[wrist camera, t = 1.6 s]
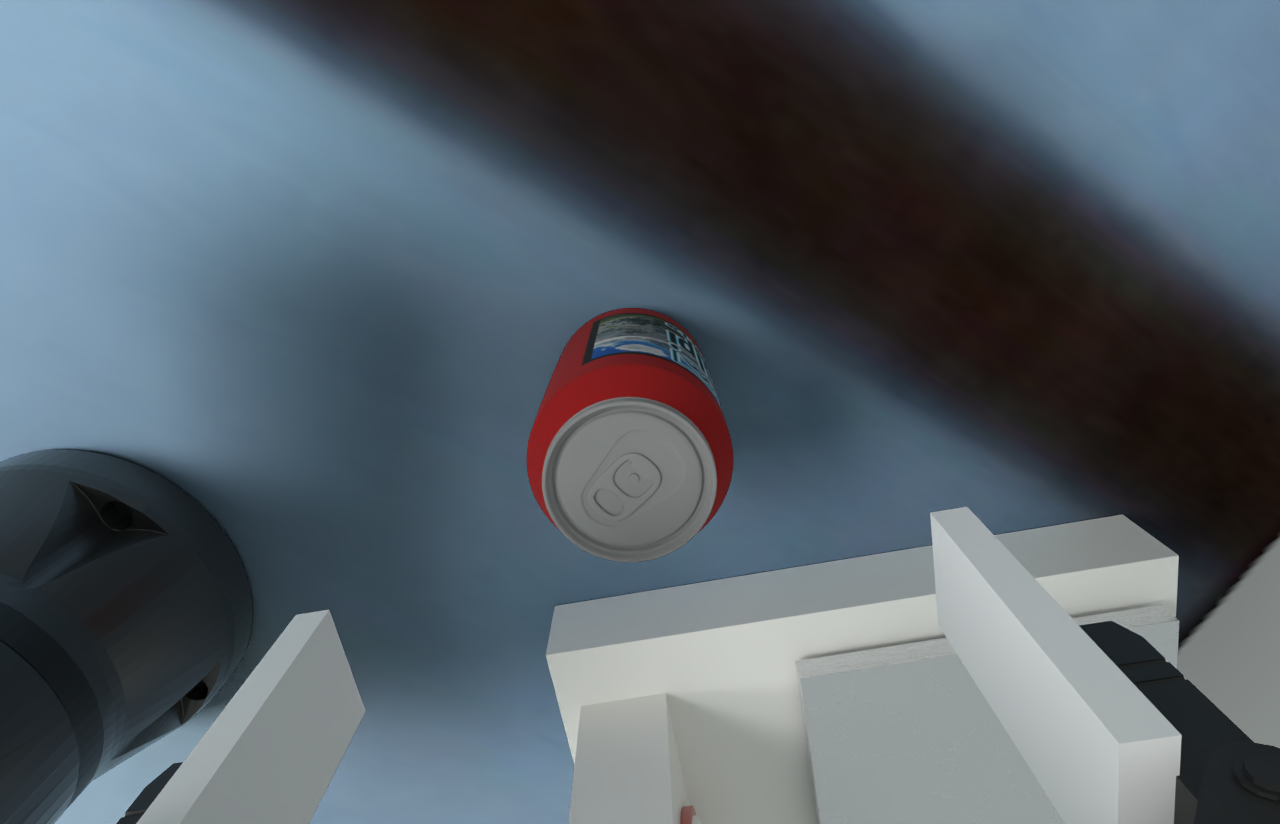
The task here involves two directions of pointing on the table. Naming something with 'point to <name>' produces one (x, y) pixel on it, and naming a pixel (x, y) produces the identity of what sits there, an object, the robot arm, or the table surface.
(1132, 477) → the table surface
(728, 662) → the scale
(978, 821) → the weighing pan
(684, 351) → the beverage can
